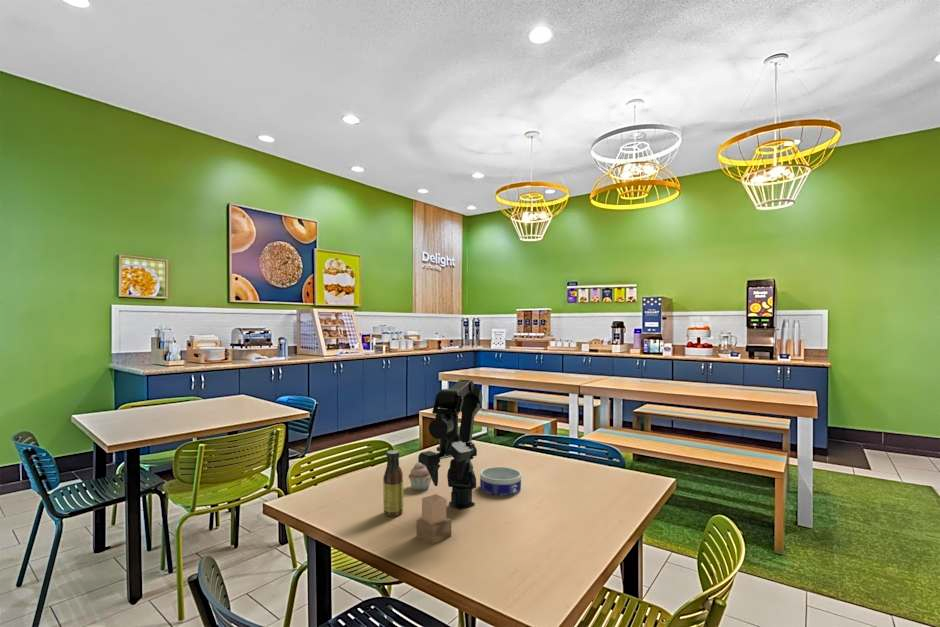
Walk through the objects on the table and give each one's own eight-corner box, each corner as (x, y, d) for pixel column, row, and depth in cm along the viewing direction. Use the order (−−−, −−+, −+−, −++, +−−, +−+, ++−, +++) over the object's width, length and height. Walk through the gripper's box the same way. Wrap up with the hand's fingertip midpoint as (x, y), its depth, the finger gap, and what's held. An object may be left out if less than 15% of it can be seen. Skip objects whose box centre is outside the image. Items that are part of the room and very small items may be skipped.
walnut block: (435, 529, 137) (435, 512, 137) (451, 537, 132) (451, 519, 132) (416, 536, 132) (417, 519, 132) (432, 545, 127) (432, 526, 127)
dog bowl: (506, 500, 161) (506, 482, 161) (471, 490, 170) (471, 473, 170) (528, 488, 173) (528, 471, 173) (494, 479, 182) (495, 464, 182)
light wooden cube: (436, 514, 135) (436, 494, 135) (446, 520, 131) (446, 499, 132) (421, 519, 132) (422, 498, 132) (431, 525, 128) (432, 503, 128)
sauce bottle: (394, 508, 152) (395, 447, 152) (407, 513, 148) (408, 450, 148) (378, 514, 147) (379, 451, 147) (391, 519, 143) (392, 455, 143)
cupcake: (434, 484, 175) (435, 457, 175) (430, 493, 166) (430, 465, 166) (410, 483, 176) (411, 456, 176) (405, 491, 167) (405, 464, 167)
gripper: (439, 441, 129) (439, 497, 128) (489, 431, 141) (488, 483, 140) (417, 433, 137) (416, 486, 137) (465, 425, 149) (465, 474, 149)
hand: (448, 482), depth 140 cm, fingers open, 9 cm apart
